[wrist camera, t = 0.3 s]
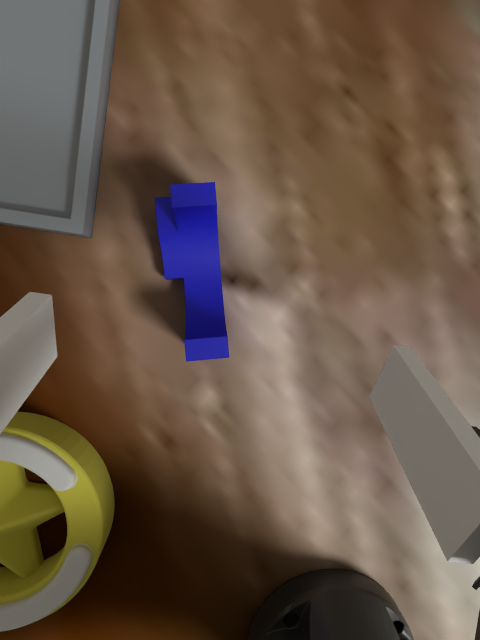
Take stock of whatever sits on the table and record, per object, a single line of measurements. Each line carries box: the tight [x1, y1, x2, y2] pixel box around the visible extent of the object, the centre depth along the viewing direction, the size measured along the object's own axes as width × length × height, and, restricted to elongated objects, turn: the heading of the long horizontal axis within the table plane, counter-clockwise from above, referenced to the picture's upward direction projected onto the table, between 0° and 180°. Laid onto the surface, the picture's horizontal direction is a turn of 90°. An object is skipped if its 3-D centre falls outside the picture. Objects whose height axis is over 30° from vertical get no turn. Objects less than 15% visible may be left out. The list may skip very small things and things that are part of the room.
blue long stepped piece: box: [155, 182, 229, 361], centre depth 28 cm, size 12×4×6 cm, turn 4°
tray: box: [0, 0, 119, 238], centre depth 27 cm, size 22×15×2 cm
